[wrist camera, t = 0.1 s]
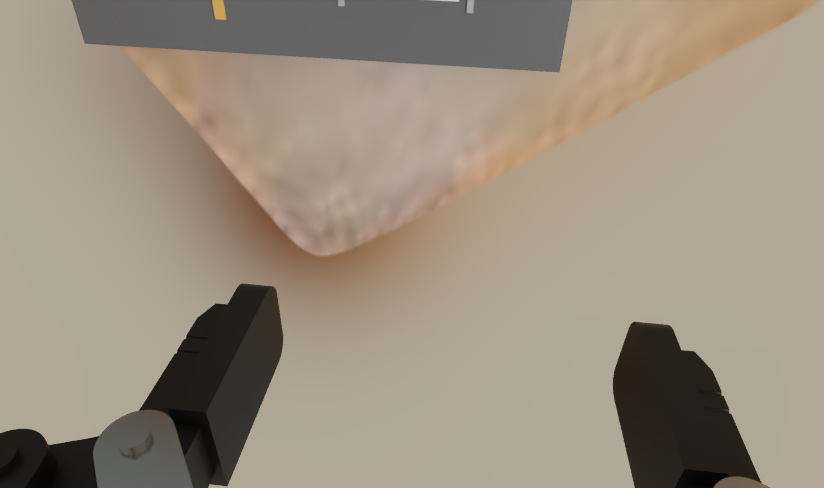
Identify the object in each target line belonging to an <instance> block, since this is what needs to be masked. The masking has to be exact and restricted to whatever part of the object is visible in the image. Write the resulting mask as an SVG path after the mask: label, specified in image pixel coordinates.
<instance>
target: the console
mask: <svg viewBox="0 0 824 488" xmlns="http://www.w3.org/2000/svg"><path fill="white" fill-rule="evenodd" d="M72 2H73V6H74V9H75V12H76V15H77V19H78V22H79V25H80V29H81V32H82V35H83V39H84V42H85V44H100V45H117V46H133V47H150V48H166V49H183V50H200V51H216V52H233V53H249V54H266V55H282V56H299V57H315V58H332V59H348V60H365V61H382V62H398V63H415V64H431V65H448V66H464V67H481V68H497V69H514V70H530V71H547V72H559V71H560V66H561V60H562V55H563V49H564V43H565V38H566V32H567V27H568V21H569V15H570V10H571V4H572V0H459V2H454V1H435V0H72Z"/></svg>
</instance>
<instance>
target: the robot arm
mask: <svg viewBox="0 0 824 488" xmlns="http://www.w3.org/2000/svg"><path fill="white" fill-rule="evenodd" d="M282 346H283V332H282V325H281V319H280V311H279V305H278V298H277V292H276V289H275V288H274V287H273V286H261V285H252V284H240V285H239V286H238V288H237V289H236V291H235V293H234V294H233V296H232V298H231V299H230V302H229V303H228V305H226V304H215V305H213V306H212V307H211V308H210V309H208V310H207V311H206V312H205V313H203V314H202V315H201V316H199V317H198V318H197V320H196V321H195V323H194V324H193V326H192V328H191V329H190V331H189V332H188V334H187V337H186V339H184V340H183V342H182V343H181V345H180V347H179V348H178V352H177V354H175V355H174V356H173V358H172V359H171V361H170V362H169V364H168V366H167V367H166V369H165V370H164V372H163V374H162V375H161V377H160V378H159V380H158V382H157V383H156V385H155V386H154V388H153V390H152V391H151V393H150V394H149V396H148V397H147V399H146V401H145V402H144V404H143V405H142V407H141V408H140V410H139V411H136V412H133V413H129V414H127V415H125V416H123V417H121V418H119V419H118V420H116V421H114V422H113V423H112V424H110V425H109V426H108V427H107V428H106V429H105V430H104V431H103V432H102V434H101V435H100V436H98V437H93V438H88V439H83V440H77V441H71V442H65V443H60V444H53V445H48V444H47V442H46V440H45V438H44V437H43V436H42V435H41V434H40V433H38V432H36V431H34V430H30V429H16V430H10V431H6V432H3V433H0V488H208V486H209V484H214V485H222V486H228V483H229V481H230V479H231V476H232V474H233V471H234V469H235V466H236V464H237V462H238V459H239V457H240V454H241V452H242V450H243V447H244V445H245V442H246V440H247V437H248V435H249V433H250V430H251V428H252V425H253V423H254V421H255V418H256V416H257V413H258V411H259V408H260V405H261V404H262V401H263V399H264V396H265V394H266V391H267V389H268V387H269V384H270V382H271V379H272V377H273V375H274V372H275V370H276V367H277V365H278V362H279V360H280V356H281V352H282ZM613 394H614V400H615V404H616V408H617V412H618V416H619V421H620V425H621V430H622V433H623V438H624V443H625V447H626V451H627V456H628V460H629V464H630V469H631V473H632V477H633V481H634V486H635V488H769V487H768V486H766V485H764V484H762V483H761V481H760V479H759V477H758V474H757V472H756V470H755V468H754V465H753V463H752V461H751V458H750V456H749V454H748V452H747V449H746V447H745V445H744V442H743V440H742V438H741V435H740V433H739V431H738V428H737V426H736V424H735V422H734V419H733V417H732V415H731V414H729V408H728V405H727V403H726V401H725V399H724V396H722V395H721V389H720V387H719V385H718V382H717V380H716V378H715V376H714V373H713V371H712V370H711V369H710V368H709V367H708V366H707V365H706V364H705V362H704V361H703V360H702V359H701V358H700V357H699V356H698V355H697V354H696V353H695V352H694V351H684V350H681V349H680V346H679V343H678V341H677V338H676V336H675V333H674V331H673V329H672V327H671V326H669V325H663V324H652V323H641V322H633V323H632V324H631V325H630V327H629V330H628V333H627V336H626V339H625V341H624V344H623V347H622V350H621V353H620V356H619V359H618V362H617V365H616V368H615V371H614V377H613Z"/></svg>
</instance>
